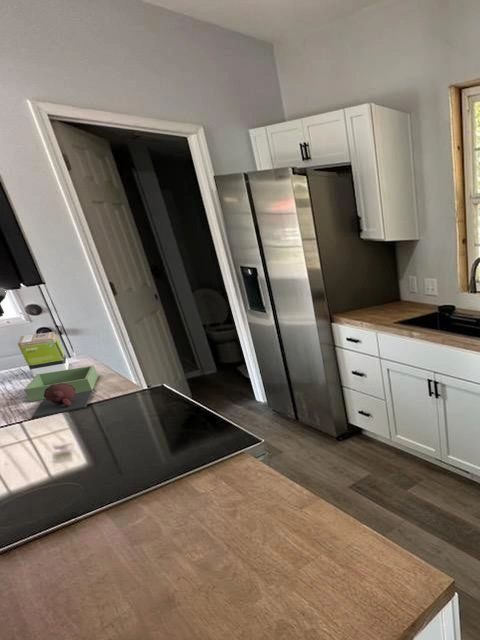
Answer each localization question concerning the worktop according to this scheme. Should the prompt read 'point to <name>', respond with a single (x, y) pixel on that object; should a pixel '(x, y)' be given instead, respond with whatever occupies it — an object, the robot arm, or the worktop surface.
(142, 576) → the worktop surface
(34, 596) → the worktop surface
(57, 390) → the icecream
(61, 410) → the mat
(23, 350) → the tea box
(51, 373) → the basket
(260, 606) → the worktop surface
